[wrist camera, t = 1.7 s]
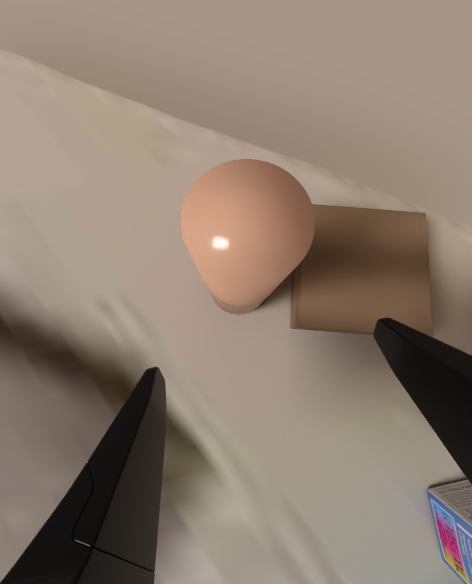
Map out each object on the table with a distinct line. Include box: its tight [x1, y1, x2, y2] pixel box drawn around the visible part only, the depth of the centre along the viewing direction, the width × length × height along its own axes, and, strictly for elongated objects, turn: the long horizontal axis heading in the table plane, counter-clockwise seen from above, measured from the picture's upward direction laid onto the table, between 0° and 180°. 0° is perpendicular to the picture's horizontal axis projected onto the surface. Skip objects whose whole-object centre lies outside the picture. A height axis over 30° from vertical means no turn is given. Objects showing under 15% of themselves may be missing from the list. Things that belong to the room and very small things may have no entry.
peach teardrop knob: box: [181, 159, 315, 314], centre depth 16 cm, size 5×5×13 cm
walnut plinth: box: [290, 204, 433, 337], centre depth 21 cm, size 10×10×3 cm
